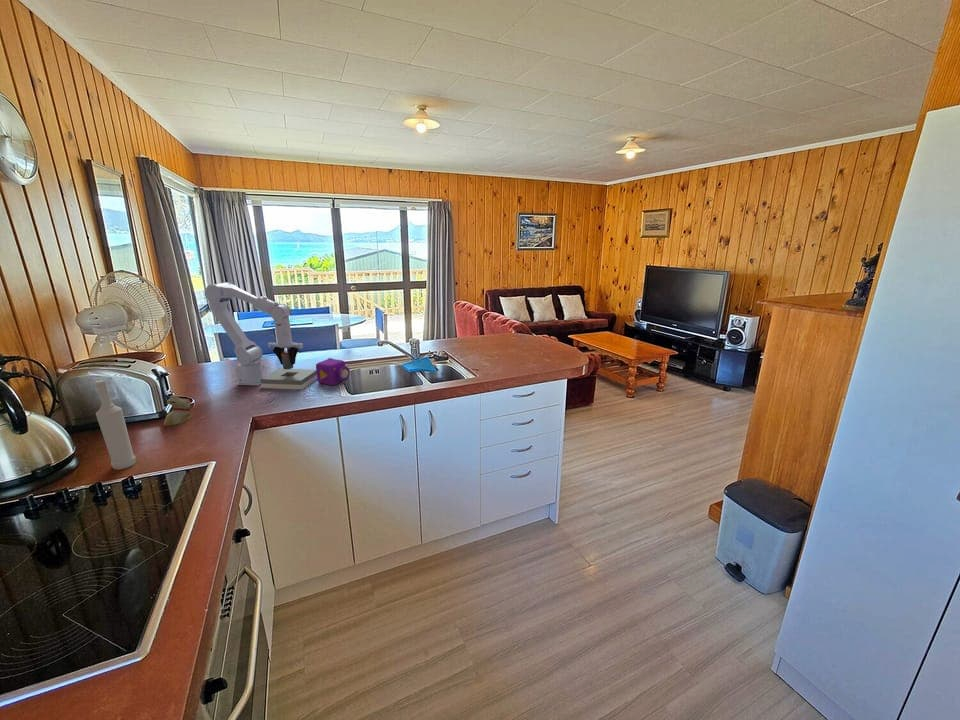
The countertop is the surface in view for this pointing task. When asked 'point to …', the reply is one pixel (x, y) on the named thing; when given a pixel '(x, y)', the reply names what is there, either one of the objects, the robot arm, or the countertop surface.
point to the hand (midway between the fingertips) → (288, 364)
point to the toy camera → (332, 371)
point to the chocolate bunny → (177, 411)
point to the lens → (286, 360)
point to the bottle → (114, 430)
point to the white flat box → (289, 379)
